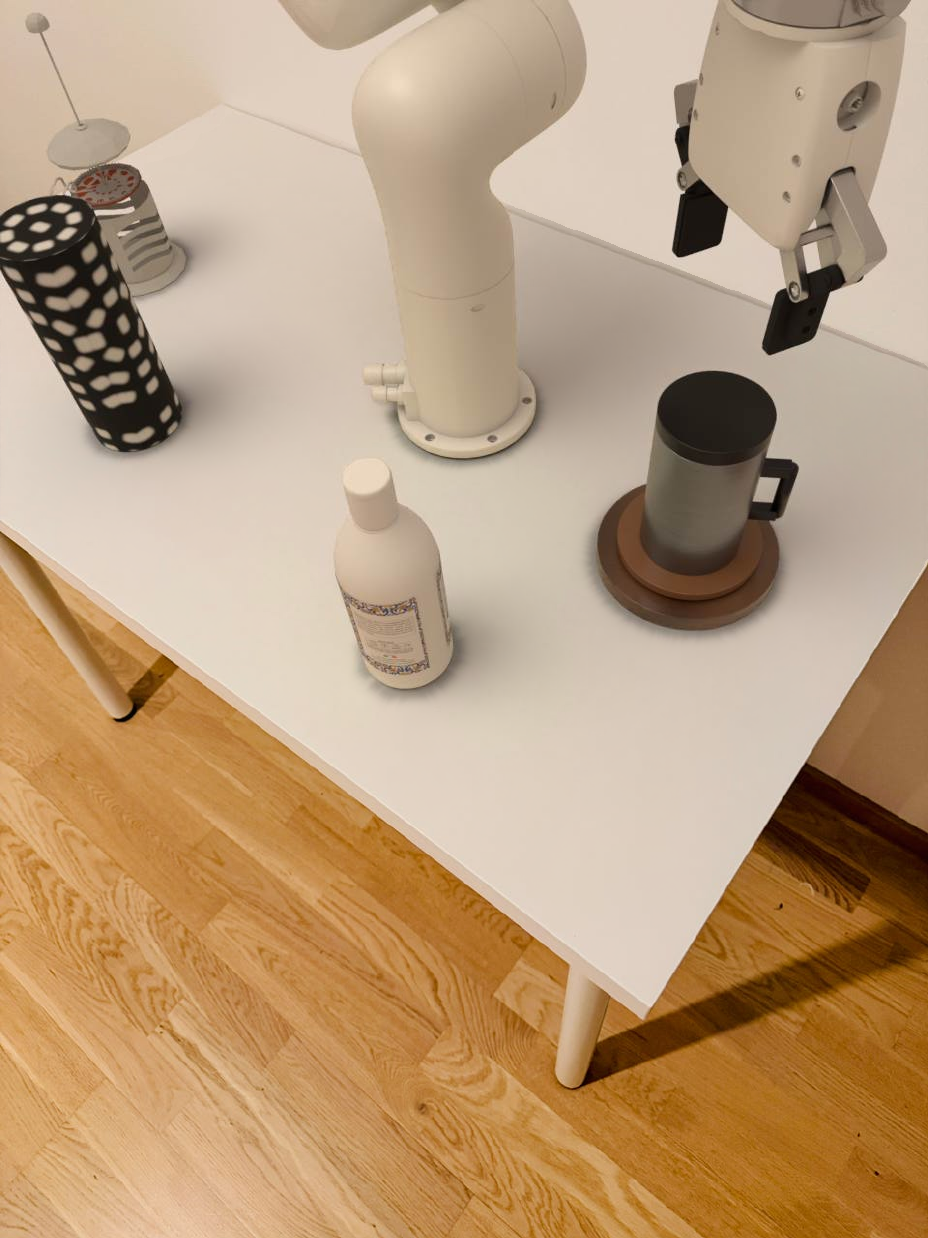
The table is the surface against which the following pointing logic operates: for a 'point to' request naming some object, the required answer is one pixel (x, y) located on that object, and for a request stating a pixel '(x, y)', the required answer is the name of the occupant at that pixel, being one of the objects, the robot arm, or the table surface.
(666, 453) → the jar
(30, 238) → the spotted tube
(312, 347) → the table surface
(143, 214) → the french press
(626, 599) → the turntable base
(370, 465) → the bath foam
